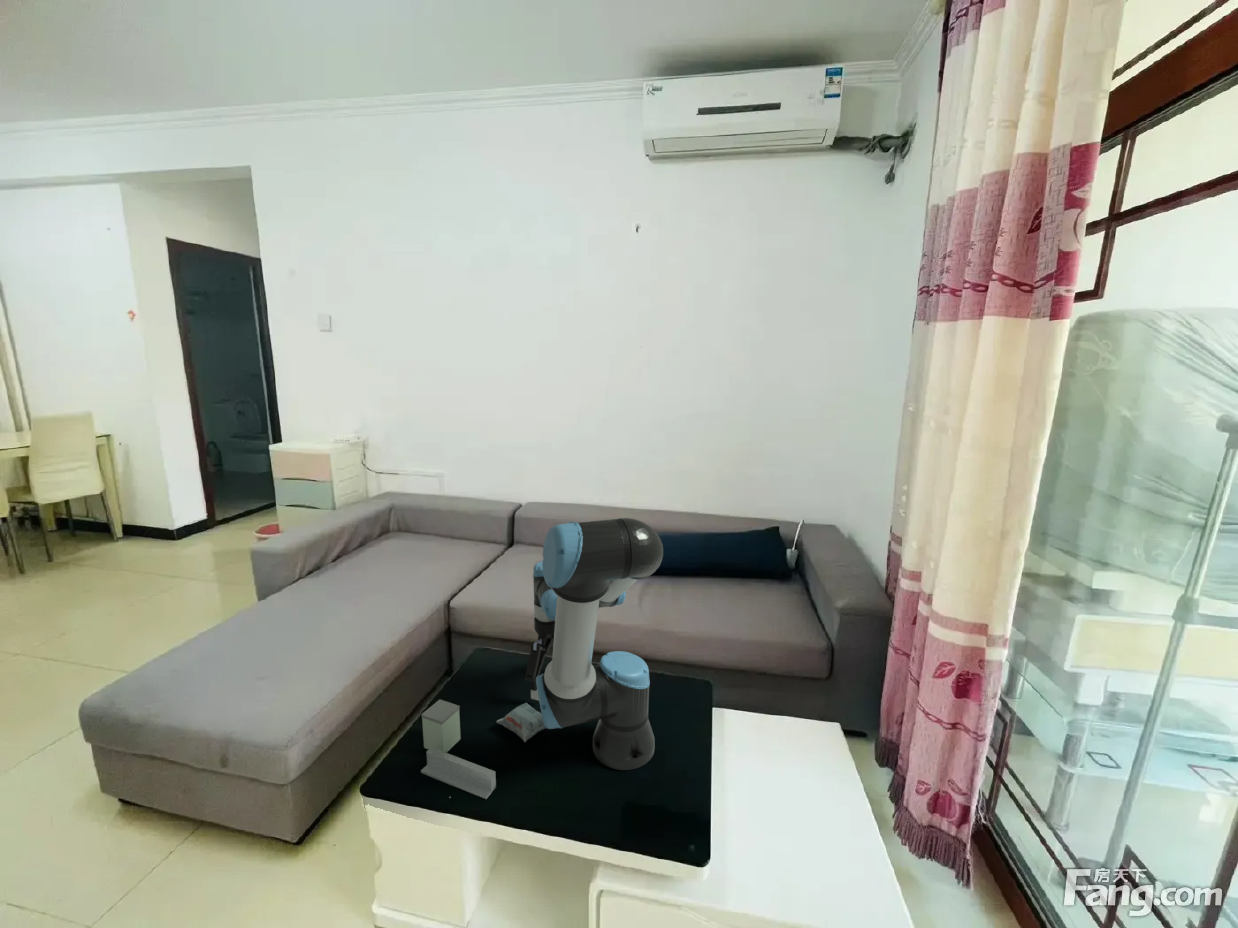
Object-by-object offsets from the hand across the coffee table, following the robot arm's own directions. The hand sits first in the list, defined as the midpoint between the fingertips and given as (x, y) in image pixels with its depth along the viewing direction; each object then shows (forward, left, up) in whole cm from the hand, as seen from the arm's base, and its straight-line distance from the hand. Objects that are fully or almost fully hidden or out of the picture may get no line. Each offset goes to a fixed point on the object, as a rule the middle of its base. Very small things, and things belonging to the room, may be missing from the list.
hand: (548, 685), depth 146 cm
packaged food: (+1, +17, -3) cm, 18 cm away
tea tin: (+13, +29, -2) cm, 32 cm away
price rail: (+2, +35, -2) cm, 35 cm away
